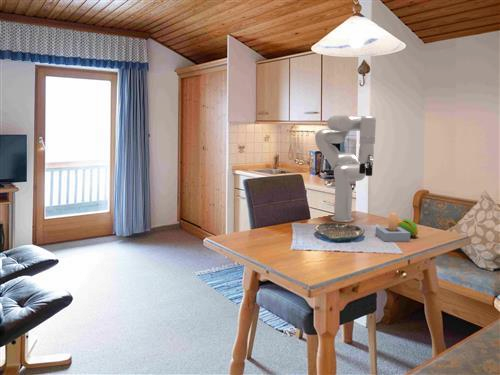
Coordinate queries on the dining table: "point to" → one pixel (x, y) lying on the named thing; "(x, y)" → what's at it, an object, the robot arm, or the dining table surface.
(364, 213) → the dining table surface
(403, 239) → the socket block
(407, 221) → the corn
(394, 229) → the peg
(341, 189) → the robot arm
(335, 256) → the dining table surface
